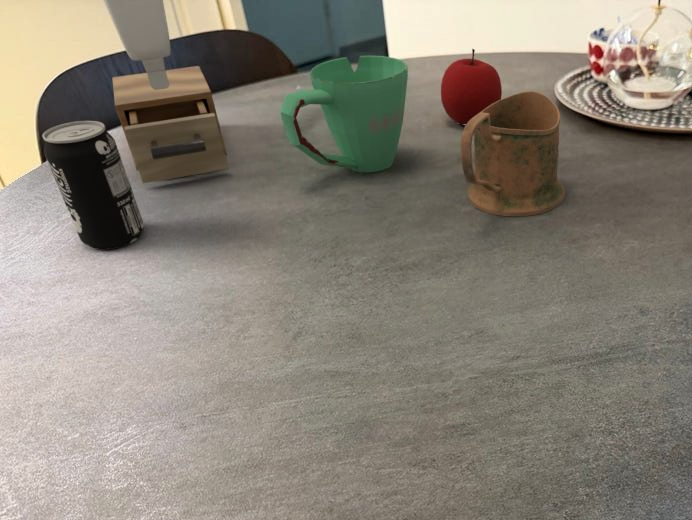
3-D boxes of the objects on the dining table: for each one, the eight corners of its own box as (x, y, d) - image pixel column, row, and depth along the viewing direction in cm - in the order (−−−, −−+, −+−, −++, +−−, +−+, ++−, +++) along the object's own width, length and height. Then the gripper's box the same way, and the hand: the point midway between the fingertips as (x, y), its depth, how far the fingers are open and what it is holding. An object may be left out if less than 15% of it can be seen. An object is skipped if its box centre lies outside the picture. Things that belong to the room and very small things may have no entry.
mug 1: (374, 140, 99) (363, 50, 91) (434, 160, 92) (427, 65, 85) (270, 181, 88) (248, 83, 81) (329, 206, 82) (312, 102, 75)
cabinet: (227, 155, 96) (210, 91, 90) (137, 171, 92) (114, 105, 87) (214, 125, 106) (198, 65, 100) (132, 138, 102) (112, 77, 97)
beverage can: (72, 239, 77) (26, 132, 70) (130, 218, 81) (92, 114, 73) (98, 258, 73) (53, 147, 66) (157, 236, 77) (120, 128, 70)
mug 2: (423, 226, 77) (414, 118, 70) (494, 169, 90) (493, 71, 82) (517, 248, 73) (518, 134, 66) (579, 184, 85) (585, 82, 78)
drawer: (233, 180, 87) (219, 126, 82) (144, 196, 83) (125, 141, 79) (215, 137, 99) (203, 88, 95) (137, 150, 96) (120, 99, 91)
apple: (431, 117, 106) (427, 47, 100) (484, 107, 109) (483, 38, 103) (457, 136, 99) (454, 62, 93) (513, 124, 102) (513, 52, 96)
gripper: (78, -77, 71) (124, 66, 80) (74, -54, 56) (132, 118, 65) (143, -82, 73) (182, 58, 81) (157, -61, 58) (202, 107, 66)
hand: (160, 85), depth 73 cm, fingers closed
